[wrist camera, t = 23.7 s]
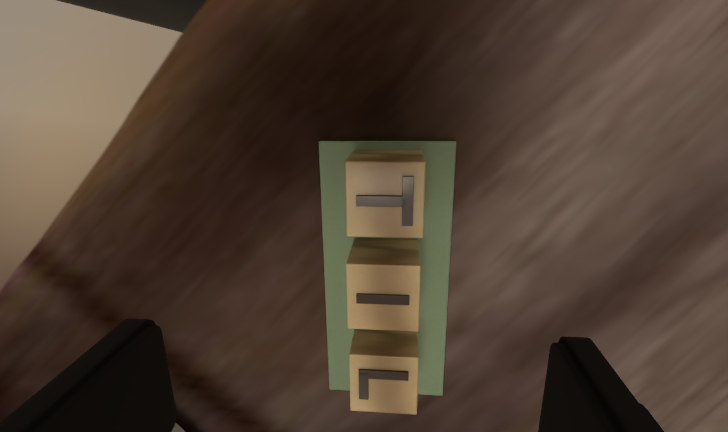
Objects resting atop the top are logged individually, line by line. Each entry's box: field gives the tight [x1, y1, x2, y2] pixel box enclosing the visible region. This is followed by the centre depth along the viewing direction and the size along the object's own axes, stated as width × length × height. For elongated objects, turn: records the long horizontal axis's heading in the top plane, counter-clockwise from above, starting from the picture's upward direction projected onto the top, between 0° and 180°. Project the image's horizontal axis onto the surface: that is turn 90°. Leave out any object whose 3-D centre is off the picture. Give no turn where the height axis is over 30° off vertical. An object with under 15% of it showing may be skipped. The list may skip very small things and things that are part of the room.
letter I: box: [346, 238, 421, 331], centre depth 30 cm, size 5×5×5 cm
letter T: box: [345, 150, 426, 238], centre depth 28 cm, size 5×5×5 cm
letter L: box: [349, 329, 419, 415], centre depth 32 cm, size 5×5×5 cm
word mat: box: [319, 141, 456, 396], centre depth 33 cm, size 10×22×1 cm, turn 1°
